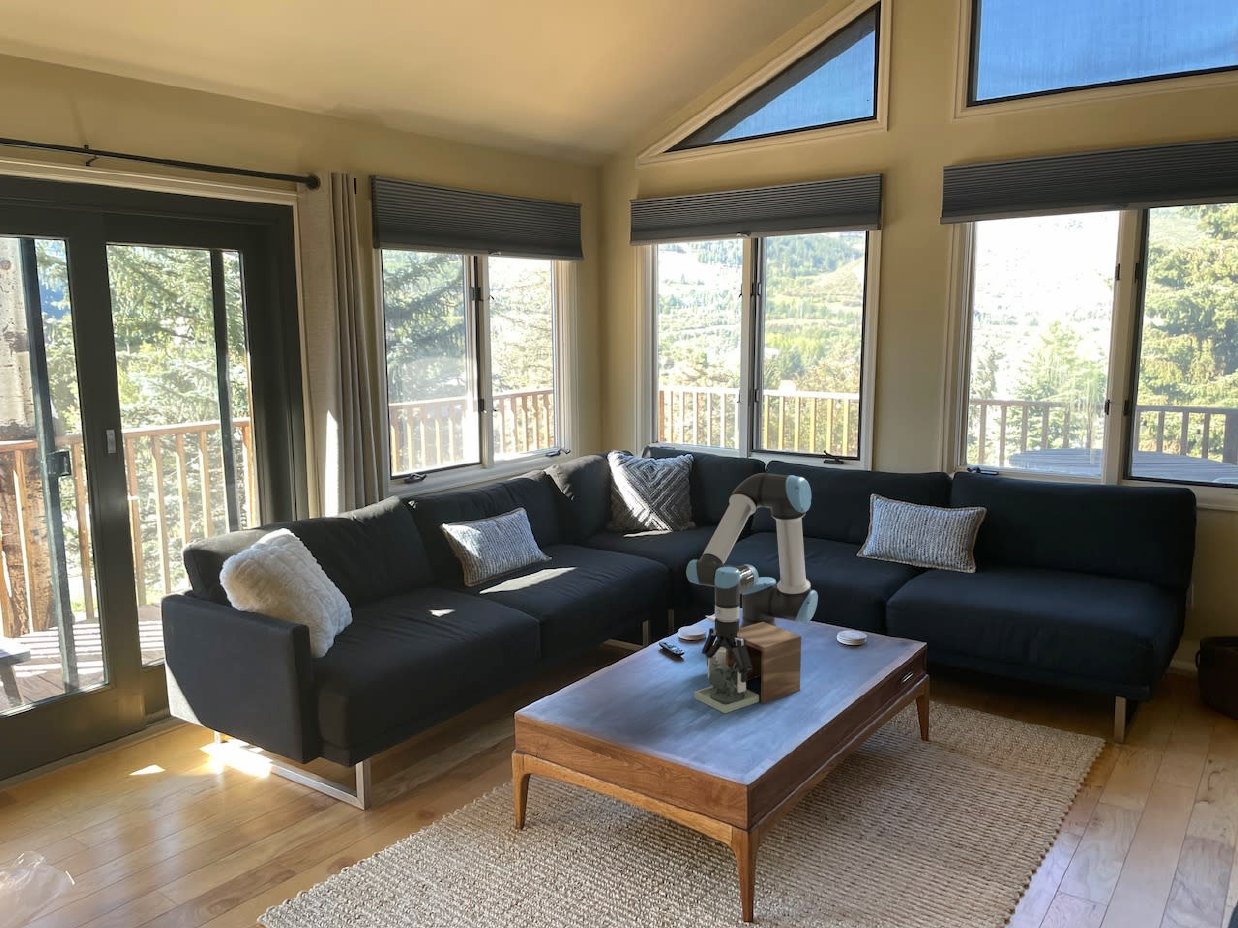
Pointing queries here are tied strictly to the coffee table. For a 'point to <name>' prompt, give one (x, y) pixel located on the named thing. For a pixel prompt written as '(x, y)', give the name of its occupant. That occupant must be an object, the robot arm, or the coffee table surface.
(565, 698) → the coffee table surface
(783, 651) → the shelf
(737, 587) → the robot arm
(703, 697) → the tray
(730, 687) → the figurine
